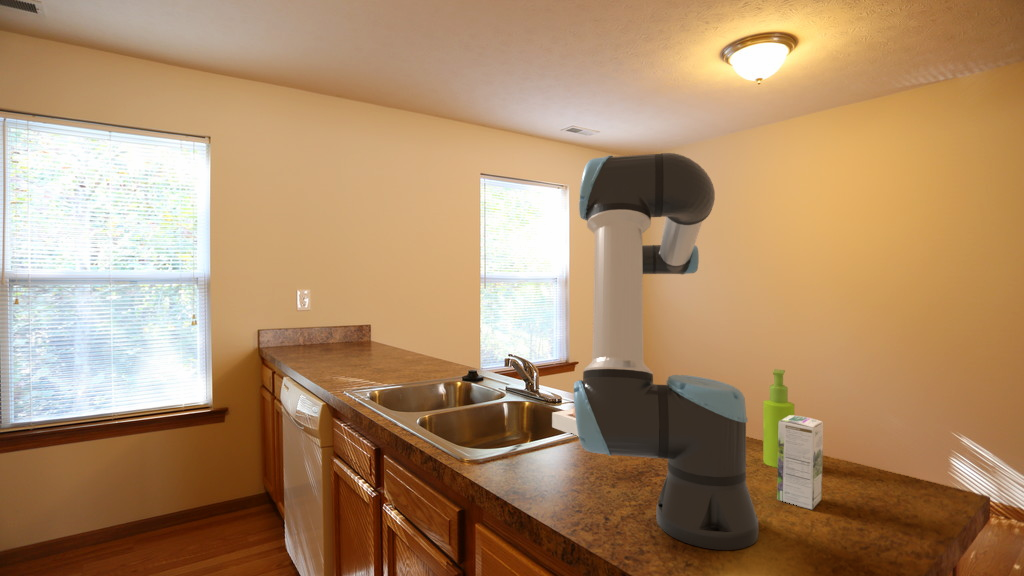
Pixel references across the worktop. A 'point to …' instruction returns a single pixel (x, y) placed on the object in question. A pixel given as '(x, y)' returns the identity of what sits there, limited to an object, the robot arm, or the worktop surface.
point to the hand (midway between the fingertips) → (623, 379)
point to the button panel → (564, 421)
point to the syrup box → (800, 461)
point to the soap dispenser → (775, 417)
